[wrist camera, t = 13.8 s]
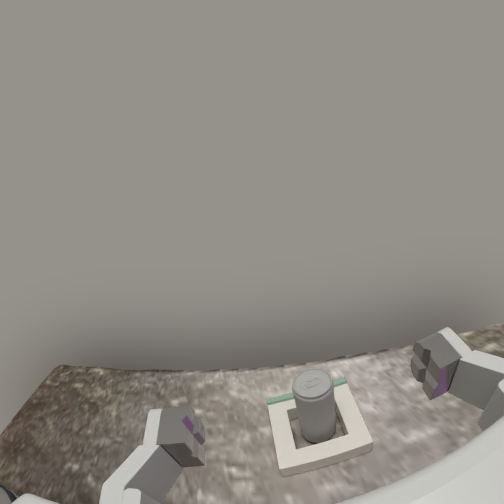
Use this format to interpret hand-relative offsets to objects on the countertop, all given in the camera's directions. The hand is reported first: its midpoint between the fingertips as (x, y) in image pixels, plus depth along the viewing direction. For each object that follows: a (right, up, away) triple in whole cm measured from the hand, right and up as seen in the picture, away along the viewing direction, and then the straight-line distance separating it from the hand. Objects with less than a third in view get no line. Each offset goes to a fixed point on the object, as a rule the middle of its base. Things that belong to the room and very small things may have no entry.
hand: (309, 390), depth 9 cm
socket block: (+7, -21, +25) cm, 34 cm away
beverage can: (+8, -21, +26) cm, 34 cm away
